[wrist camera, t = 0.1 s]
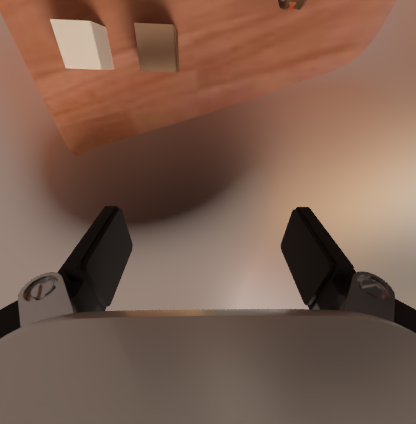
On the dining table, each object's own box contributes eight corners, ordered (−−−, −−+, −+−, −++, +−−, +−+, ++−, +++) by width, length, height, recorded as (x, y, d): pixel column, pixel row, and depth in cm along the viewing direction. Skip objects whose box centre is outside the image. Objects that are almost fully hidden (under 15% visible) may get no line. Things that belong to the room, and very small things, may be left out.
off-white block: (71, 25, 29) (49, 18, 25) (105, 27, 29) (90, 20, 25) (83, 67, 32) (65, 68, 28) (114, 69, 32) (101, 69, 28)
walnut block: (143, 28, 29) (133, 22, 25) (177, 30, 29) (173, 24, 25) (148, 70, 32) (140, 70, 28) (179, 71, 32) (175, 72, 28)
